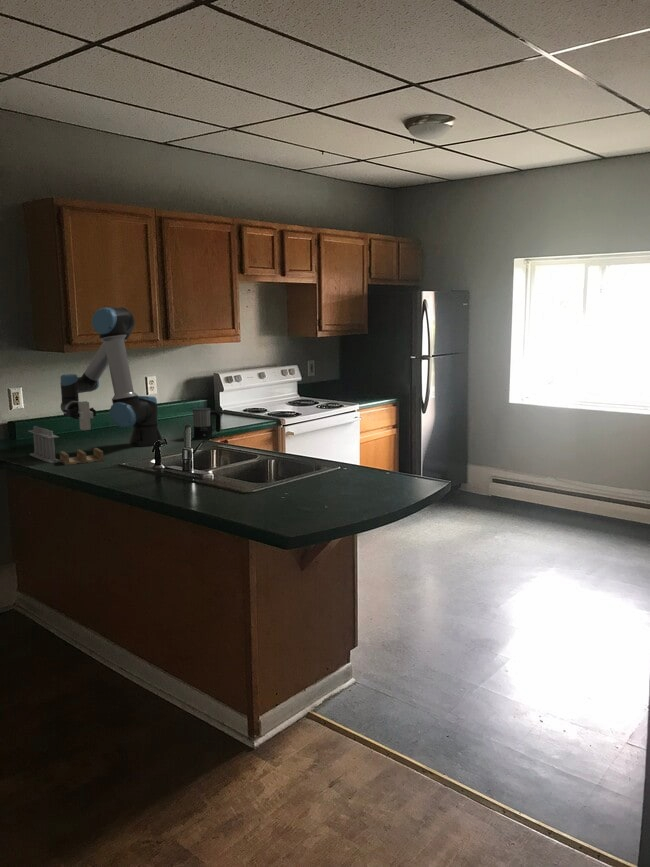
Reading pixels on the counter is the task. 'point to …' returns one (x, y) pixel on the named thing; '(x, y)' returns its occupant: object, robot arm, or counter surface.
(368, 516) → the counter surface
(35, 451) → the test tube rack
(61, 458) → the oak rack
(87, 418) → the grey upright block
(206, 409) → the milk frother
